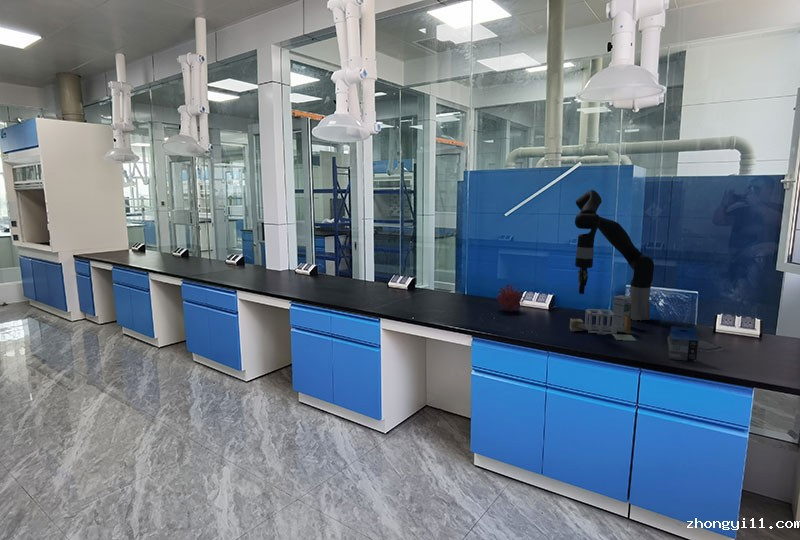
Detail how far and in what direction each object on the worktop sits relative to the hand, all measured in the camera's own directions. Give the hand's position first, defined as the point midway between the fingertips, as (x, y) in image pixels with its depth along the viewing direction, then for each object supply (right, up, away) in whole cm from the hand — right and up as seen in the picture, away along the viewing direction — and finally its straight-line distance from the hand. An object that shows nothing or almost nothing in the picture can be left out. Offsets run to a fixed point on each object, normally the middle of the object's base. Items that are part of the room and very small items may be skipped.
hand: (581, 293), depth 211 cm
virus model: (-24, -12, +40) cm, 48 cm away
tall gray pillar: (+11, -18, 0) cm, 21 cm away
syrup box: (+24, -16, +12) cm, 32 cm away
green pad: (+15, -19, -10) cm, 27 cm away
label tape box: (+24, -24, -37) cm, 50 cm away
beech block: (-1, -18, +3) cm, 18 cm away
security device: (+41, -22, -20) cm, 51 cm away
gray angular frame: (+9, -18, +1) cm, 20 cm away
